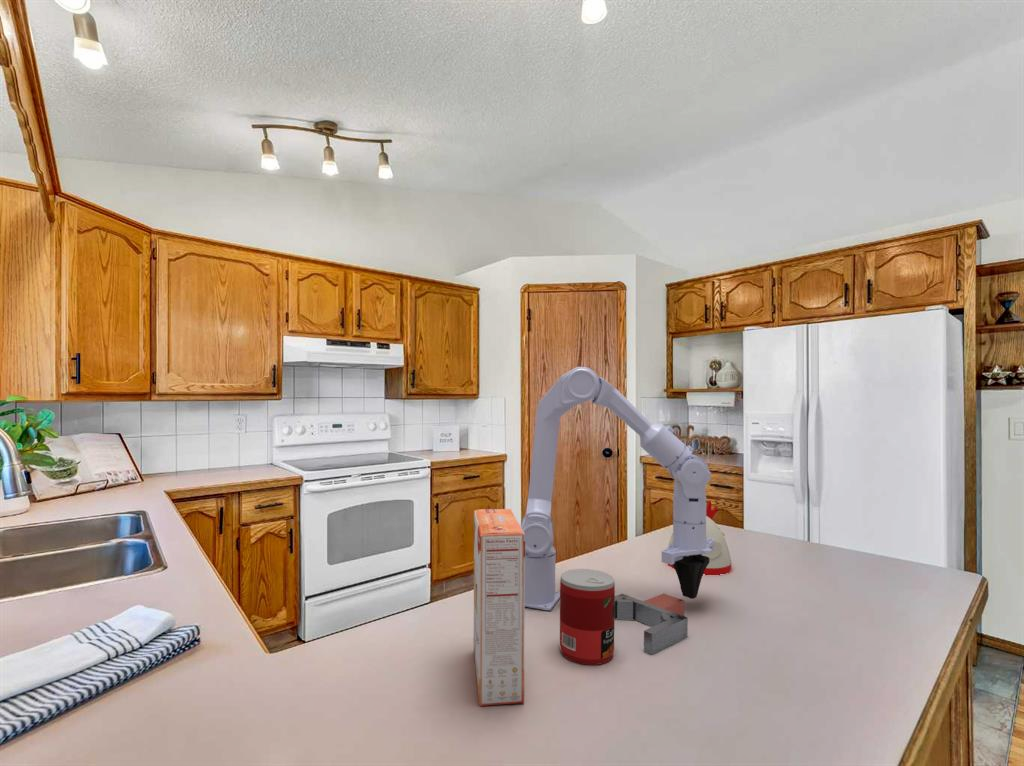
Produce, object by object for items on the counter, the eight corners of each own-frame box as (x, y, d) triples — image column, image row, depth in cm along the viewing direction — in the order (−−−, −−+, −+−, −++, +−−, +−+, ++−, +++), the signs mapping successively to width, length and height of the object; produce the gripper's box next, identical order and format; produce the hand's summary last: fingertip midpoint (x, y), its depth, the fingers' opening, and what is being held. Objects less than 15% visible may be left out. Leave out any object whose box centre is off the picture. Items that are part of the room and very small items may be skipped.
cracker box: (470, 651, 75) (472, 507, 76) (511, 650, 76) (513, 507, 77) (475, 708, 62) (478, 531, 62) (525, 705, 62) (527, 531, 63)
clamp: (642, 602, 95) (643, 586, 95) (707, 626, 85) (707, 608, 85) (586, 624, 85) (586, 606, 85) (651, 654, 75) (652, 634, 75)
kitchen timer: (741, 576, 110) (741, 506, 111) (677, 575, 110) (677, 505, 111) (716, 557, 124) (716, 494, 125) (659, 556, 124) (659, 493, 125)
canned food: (614, 669, 71) (614, 588, 72) (556, 662, 73) (557, 583, 73) (614, 643, 79) (614, 570, 79) (562, 638, 80) (562, 566, 81)
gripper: (687, 531, 86) (687, 613, 85) (730, 519, 95) (730, 593, 95) (651, 523, 91) (651, 600, 91) (695, 512, 101) (695, 583, 100)
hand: (689, 596), depth 93 cm, fingers closed
